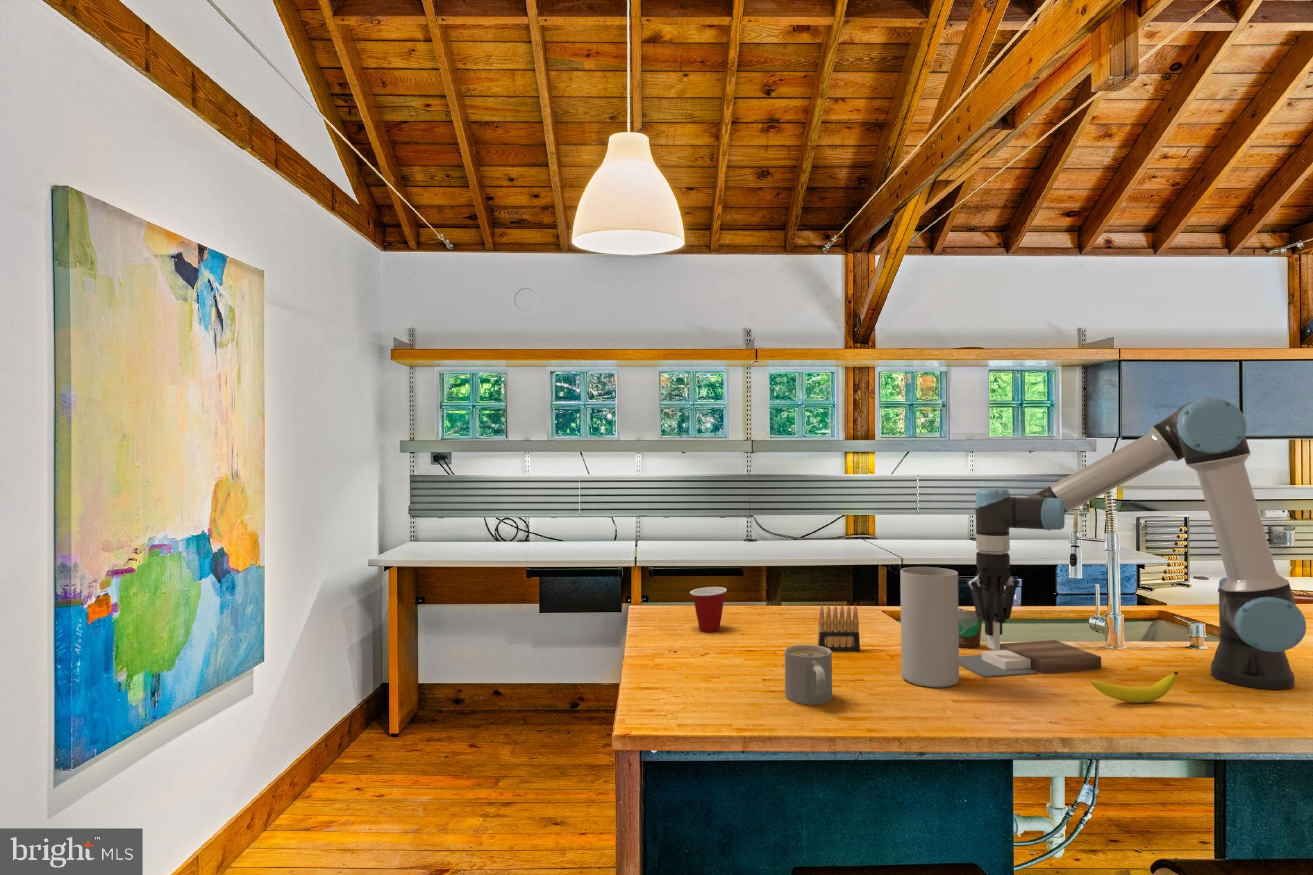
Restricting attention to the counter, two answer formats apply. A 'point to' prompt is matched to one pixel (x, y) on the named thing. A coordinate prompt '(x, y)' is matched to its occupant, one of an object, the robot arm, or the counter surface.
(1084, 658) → the walnut board
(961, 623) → the food container
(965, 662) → the charcoal mat
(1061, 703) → the counter surface
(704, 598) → the plastic cup
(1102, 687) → the banana
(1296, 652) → the counter surface
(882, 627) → the counter surface
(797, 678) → the coffee mug
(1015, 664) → the ceramic tile
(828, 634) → the ammunition clip
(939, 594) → the cylinder vase
